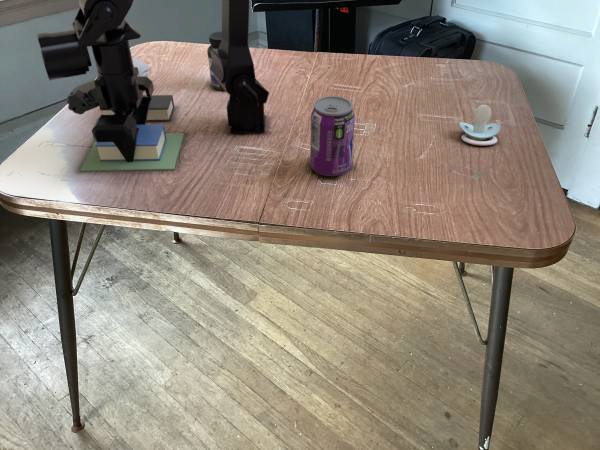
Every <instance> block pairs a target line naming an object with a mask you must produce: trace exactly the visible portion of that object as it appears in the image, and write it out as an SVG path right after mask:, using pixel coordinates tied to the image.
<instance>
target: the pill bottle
mask: <svg viewBox="0 0 600 450" xmlns="http://www.w3.org/2000/svg"><path fill="white" fill-rule="evenodd" d="M221 40H222V30H219V31H214V32H211V33H210V34H209V35H208V41H209V44H210V45H209V46H208V48H207V50H206V51H207V52H206V53H207V60H208V67H209V77H210V83H211V86H212V88H213V89H215V90H218V91H226V90H225V89H224V88H223V87H222V86H221V84H220V83H219V82H218V81H217V79H216V78H215V76H214V74H213V72H212V71H211V70H210V67H211V64H212V57H211V48H213V49H218V48H219V45H220V43H221Z"/></svg>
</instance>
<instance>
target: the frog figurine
mask: <svg viewBox="0 0 600 450" xmlns="http://www.w3.org/2000/svg"><path fill="white" fill-rule="evenodd" d="M132 60H133V65H134V67H138V72H139V73H138V75H137V77H140V76H146V77H148V78H149V71H150V70H151V67H150V66H149V64H147V63H146V62H144V61H142V60H139V59H137V58H134V57H133V56H132ZM149 79H150V78H149Z"/></svg>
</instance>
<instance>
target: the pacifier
mask: <svg viewBox="0 0 600 450" xmlns="http://www.w3.org/2000/svg"><path fill="white" fill-rule="evenodd" d="M491 109H492V108H491V107H490V106H489V105H487V104H480V105H478V106H477V107H476V109H475V110H474V112H473V117H474V119H475V120H474V123H473V125H472V124H470V123H467V122H465V121H460V122H459V127H460V129H461V131H463V132H464V134H462V135H461V139H462V141H463V142H465V143H467V144H470V145H474V146H492V145H494V144H497V143H498V138H497V137H496V135H497V134H498V133H500V130H501V125H500V124H499V123H488V121H489V120H490V119H491V117H492V110H491ZM488 139H489V140H488Z"/></svg>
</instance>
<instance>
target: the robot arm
mask: <svg viewBox="0 0 600 450" xmlns="http://www.w3.org/2000/svg"><path fill="white" fill-rule="evenodd" d="M78 4H79V8H78V10H77V12H76V15H75V16H74V19H73V20H72V23H71V28H72V29H70V30H69V29H68V30H64V31H57V32H40V33H37V34H36V37H37V41H38V44H39V47H40V54H41V58H42V62H43V65H44V69H45V72H46V74H47V79H48V80H49V81H55V80H63V79H67V78H72V77H78V76H83V75H87V72H90V67H93V64H92V61H91V56H90V53H89V49H88V48H89V47H91V51H92V55H93V59H94V63H95V67H96V71H97V74H98V75H97V77H96V78H95V79H92V80H90V81H87V82H85V83H82V84H79V85H77V86H75V87H74V88H73V89H72V90H71V92H70V93H69V94H68V96H67V98H66V99H67V100H66V103H67V105H68V107H67V109H68V110H69V111H71V112H73V114H77V115H80V116H81V115H84V114H85V112H88V111H91V110H94V109H96V108H98V107H99V111H102V110H108V109H111V111H112V113H115V114H114V115H103V114H100V116H99V117H98V118H97V119H96V121H95V123H94V125H93V127H92V129H91V130H90V131H91V134H92V137H93V141H94V142H95V141H96V142H113V143H114V144H115V145H116V147H117V148H118V149H119V151H120V152H121V154H122V155H123V157H124V158H125V160H126V161H127V162H133V161H134V156H135V150H136V144H137V138H138V133H139V128H137V125H147V124H146V123H147V121H146V120H147V115H148V111H149V107H150V103H151V99H152V98H151V96H152V95H153V94H154V91H155V89H154V84H153V80H151V79H150V78H148V77H149V76H148V77H146V76H140V77H137V75H138V73H139V72H138V67H134V65H133V60H132V57H133V56H132V51H131V47H130V42H129V41H132V40H137V39H141V37H142V35H141V33H140V32H139V30H138V29H137V28H136V26H134V25H132V24H130V23H129V22H128V21H127V19H125V18H126V17H127V15H128V13H129V11H130V10H131V8H132V6H133V4H134V0H78ZM249 23H250V0H221V31H222V40H221V43H220V45H219V48H218V49H213V48H211V57H212V64H211V67H210V68H209V71H210V70H211V71H212V72H213V74H214V76H215V78H216V79H217V81H218V82H219V83H220V84H221V86H222V87H223V88H224V89H225V90H224V91H225V92H226V93H227V94H228V95H229V98H228V100H227V103H226V115H227V125H228V127H230V130H229V131H230V134H234V135H235V134H237V135H238V134H264V133H265V132H266V118H267V117H266V114H265V104H266V103H267V101H268V99H269V94H270V91H268V90H267V89H266V88H265V87H264V86H263V85H262V83H261V82H260V81H258V79H257V78H256V72H255V64H254V61H253V56H252V54H251V49H250V46H249V28H250V27H249V26H250V24H249ZM144 91H145V95H147V96H148V97H143V95H144Z"/></svg>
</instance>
